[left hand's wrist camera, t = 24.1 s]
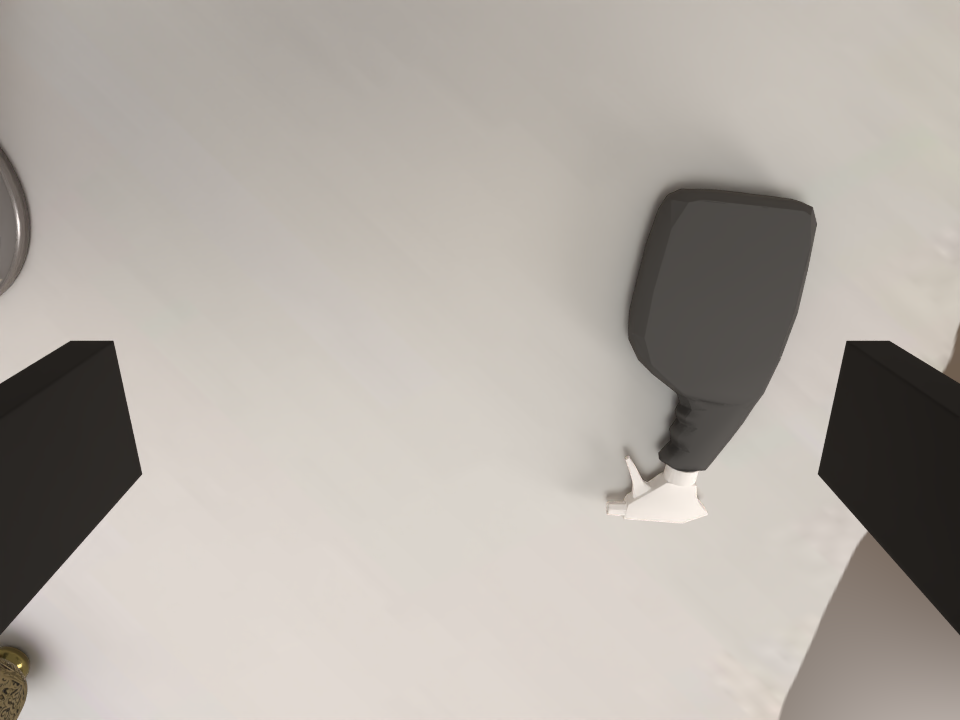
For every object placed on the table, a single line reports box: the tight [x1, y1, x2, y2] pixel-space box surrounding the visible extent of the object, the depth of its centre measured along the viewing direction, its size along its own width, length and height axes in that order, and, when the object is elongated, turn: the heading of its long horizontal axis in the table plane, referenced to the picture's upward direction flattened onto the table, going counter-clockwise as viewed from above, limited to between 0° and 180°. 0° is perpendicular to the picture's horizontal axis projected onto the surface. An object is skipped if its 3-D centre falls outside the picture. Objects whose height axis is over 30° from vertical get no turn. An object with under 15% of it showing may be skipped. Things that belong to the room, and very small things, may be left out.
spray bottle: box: [606, 189, 817, 523], centre depth 47 cm, size 3×11×24 cm
